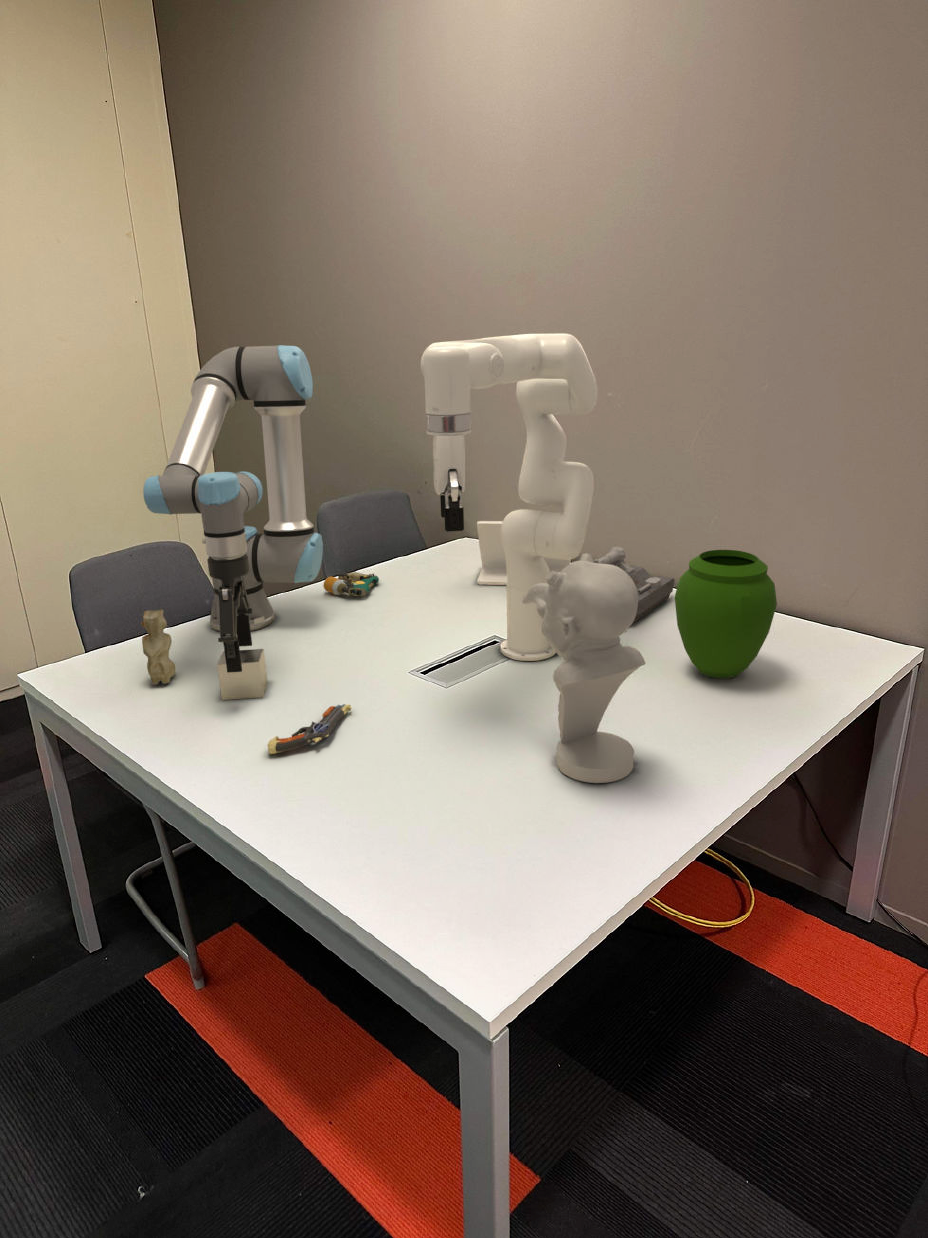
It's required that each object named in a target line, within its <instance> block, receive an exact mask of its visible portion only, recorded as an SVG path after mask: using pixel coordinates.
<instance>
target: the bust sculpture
mask: <svg viewBox="0 0 928 1238" xmlns="http://www.w3.org/2000/svg"><path fill="white" fill-rule="evenodd" d="M522 602H523V604H528V603H533V602H535V603H536V604H537V612H538V614H539V615H540V617H541V618H543V619H544V621H543V623H542V633H543V634H544V636H545V637H546V640H547V642H548V643H549V644H550V646H551V648H552V649H553V650H554V651H555V652H556V654H557V655H558V656H559V657H560V658H561V659H562V660H563V662H562V663H560V664H559V665H557V666H556V668H555V669H554V670H553V673H552V679H553V682H554V684H555V686H556V688H557V690H558V691H559V697H558V705H557V706H558V707H557V711H558V714H557V717H558V718H557V720H558V729H559V741H558V743H556V744H557V745H556V750H555V751H556V752H555V753H556V756H555V759H556V763H555V764H556V766H557V768H558V770H559V771H560V772H561V773H563V774H564V775H565V776H567V777H569V778H570V779H573V780H576V781H580V782H584V783H592V784H607V783H612V782H616V781H620V780H622V779H624V778H626V777H627V776H629V775H630V774H631V772H632V771H633V769H634V760H635V759H634V757H635V750H634V747H633V746H632V744H631V743H630V742H629V741H628V740H626V739H625V738H623V737H621V736H619V735H616V734H614V733H610V732H607V731H606V732H605V731H598V729H599V727H600V725H601V722H602V719H603V718H604V715H605V713H606V711H607V709H608V707H609V705H610V703H611V701H612V699H613V698H614V696H615V694H617V692H618V689H619V688H620V687H621V685H622V684H623V683H624V682H625V680H627V679H628V677H629V676H631V675H632V674H633V673H634V672H635V671H637V670H638V669H640V668H641V667H642V666H644V665H646V660H645V658H644V657H643V655H642V653H641V652H640V650H639V649H638V648H635V647H632V646H630V645H623V644H621V637H619V636H621V635H623V634H625V632H627V630H629V629H630V627H631V626H632V624H634V623H633V621H634V619H635V616H636V612H637V607H638V591H637V588H636V585H635V583H634V582H633V580H632V579H631V577H630V576H629V575H628V574H627V573H626V572H625V571H624V570H622V569H621V568H619V567H617V566H614V565H609V564H597V563H594V559H593V556H592V555H591V554H590V553H582V554H581V556H580V558H579V560H575V561H572V562H571V564H569V565H568V566H566V567H565V568H564V569H563V570H562V571H561V573H560V572H554V571H552V572H550V573H549V574H548V576H547V583H539V584H536V585H534V586H533V587H531V588H530V590H529V591H528V593H527V595H526V596H525V597H524V599H523V601H522Z"/></svg>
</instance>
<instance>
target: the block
mask: <svg viewBox="0 0 928 1238" xmlns="http://www.w3.org/2000/svg"><path fill="white" fill-rule="evenodd" d="M240 656H241V664H242V672H229V673H227V667H226V659H225V651H224V650H223V651H222V652H221V655H220V657H219V659H218V662H217V663H216V668H217V674H218V681H219V689H220V695H221V696H220V697H221V701H228V700H244V699H258V698H259V699H261V698H264V697H265V694H266V689H267V686H268V675H267V674H268V673H267V668H266V659H265V651H264V648H256V649H255V648H253V649H240Z"/></svg>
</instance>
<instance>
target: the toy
mask: <svg viewBox="0 0 928 1238" xmlns="http://www.w3.org/2000/svg"><path fill="white" fill-rule="evenodd" d="M626 557H627V556H626V551H625V549H624V548H622V547H621V546H614V547H612V548H611V549H610V550H609V552H608V553H607V554H605V555H604V556H601V557H599V558H598V559H597V557H596V558H594V559H593V560H594V563H597V564H609V565H614V566H617V567H619V568H621V569H622V570H624V571H625V572H626V573H627V574H628V575H629V576H630V577H631V579H632V580H633V582H634V583H635V585H636V588H637V591H638V607H637V612H636V616H635V619H634V621H633V623H632V624H634V623H635V622H637V621H638V620H640V619H641V618H642V617H644V616H645V615H647V614H648V613H650V612H651V611H652V610H654V609H655V608H657V607H659V606H660V605H661V604H663V603H664V602H666V601H667V600H669V598H670V596H671V594H672V593H673V591H674V585H675V580H676V579H675V578H673V577H668V576H663V575H656V576H655V577H654V576H651V574H650V573H649V572H648V571H647V570H646V568H644V567H641V566H635V565H629V564H628V563H627V562H626V561H625V559H626Z"/></svg>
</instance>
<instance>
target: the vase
mask: <svg viewBox="0 0 928 1238" xmlns="http://www.w3.org/2000/svg"><path fill="white" fill-rule="evenodd" d="M768 567H769V566H768V565H767V564H766V563H765V562H764V561H763V560H762V559H761V558H759V557H758V556H756V555H755V554H753V553H750V552H747V551H742V550H735V549H713V550H706V551H703V552H702V553H700V554H698V555H697V556H695V557H694V558H692V559H690V560H689V562H688V569H687V570H686V571H684V573H683V574H682V575H681V576H680V577H679V580H678V583H677V587H676V590H675V594H674V604H675V605H674V607H675V617H676V624H677V629H678V631H679V635H680V638H681V641H682V646H683V648H684V650H685V653H686V655H687V657H688V658H689V660H690V662H691V663H692V665H693V666H694V667H695V669H696V670H697V671H698V672H699V673H700V674H702V675H704V676H706V677H709V678H713V679H718V680H719V679H722V680H725V679H732V678H735V677H739V676H740V675H741V674H742V673H743V672H745V670H747V669H748V668H749V666H751V664H752V663H753V662H754V660H755V659H756V658H757V657H758V655H759V653H760V650H761V649H762V647H763V645H764V643H765V641H766V640H767V638H768V635H769V633H770V630H771V627H772V623H773V619H774V616H775V612H776V610H777V605H778V601H777V600H778V599H777V593H776V585H775V582H774V581H773V579H772V578H771V577H770V576H769V574H768V569H769V568H768Z"/></svg>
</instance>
